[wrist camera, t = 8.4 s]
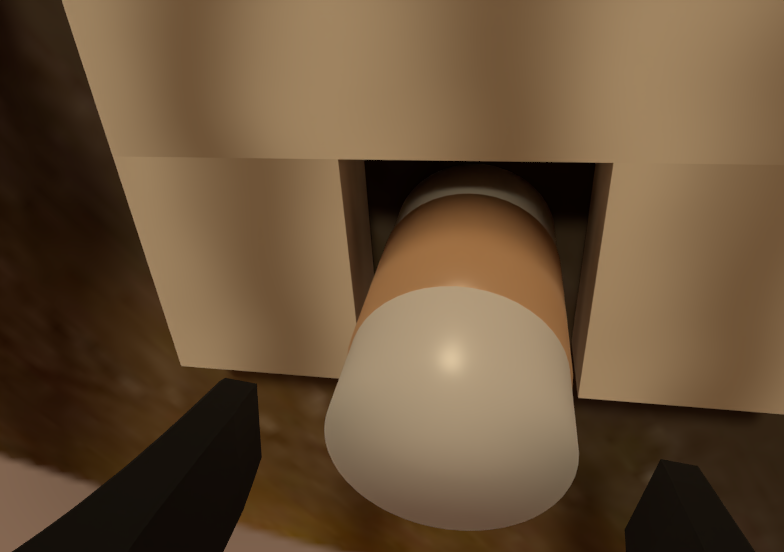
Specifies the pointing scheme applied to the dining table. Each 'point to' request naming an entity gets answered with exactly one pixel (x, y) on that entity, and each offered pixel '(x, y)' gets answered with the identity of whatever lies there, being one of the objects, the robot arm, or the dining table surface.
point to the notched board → (455, 143)
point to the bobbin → (461, 360)
